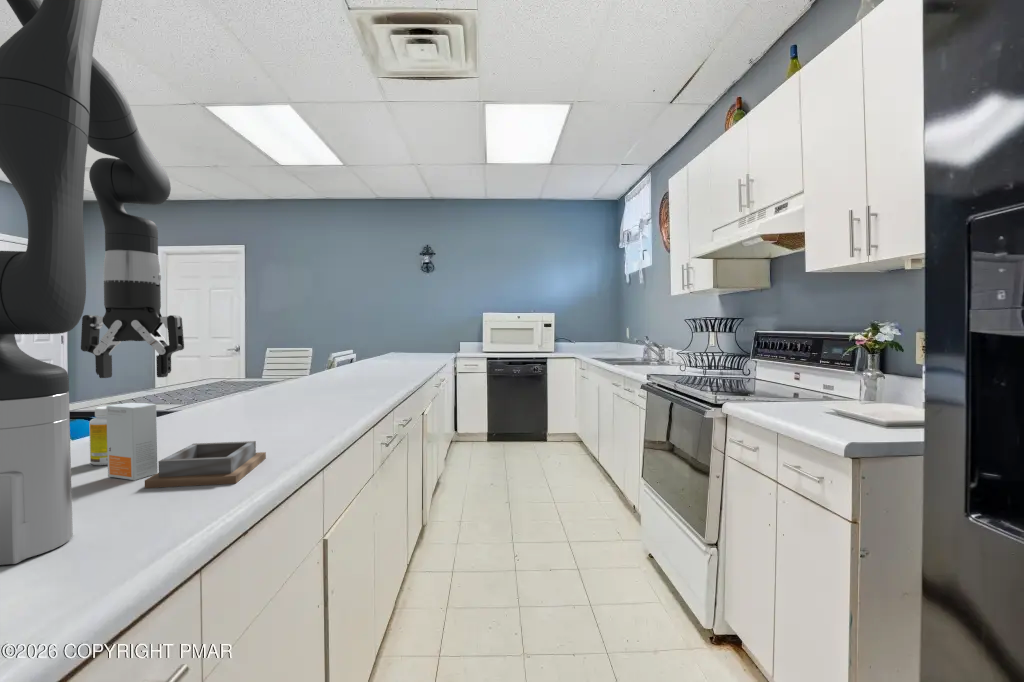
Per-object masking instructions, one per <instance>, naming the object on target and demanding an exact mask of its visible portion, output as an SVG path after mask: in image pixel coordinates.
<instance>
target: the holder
mask: <svg viewBox="0 0 1024 682" xmlns="http://www.w3.org/2000/svg"><path fill="white" fill-rule="evenodd" d="M256 442H257V441H256V440H252V441H251V440H249V441H248V440H247V441H228V442H227V441H226V442H204V443H203V442H201V443H200V442H198V443H197V442H196V443H192V444H190V445H188V446H186V447H184V448H182V449H180V450H178V451H176V452H175V453H172V454H169V455H168V456H166V457H164V458H162V459H161V460H159V461H158V460H157V464H158V473H157V474H154V475H151V476H149V477H148V478H147V479H145V480H144V489H153V488H154V489H155V488H157V489H158V488H174V487H175V488H176V487H191V486H210V485H211V486H212V485H231V484H232V485H233V484H237V483H238V482H239V481H240V480H241V479H243V478H244V477H245V476H247V475H248V474H249V473H250V472H252V471H253V470H254V469H255V468H256V467H258V466H259V465H260V464H261V463H262V462H263V461H265V460H267V452H266V451H265V452H263V451H262V452H261V451H260V452H257V444H256Z"/></svg>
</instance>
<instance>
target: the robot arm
mask: <svg viewBox="0 0 1024 682" xmlns="http://www.w3.org/2000/svg"><path fill="white" fill-rule="evenodd" d="M6 2H7V3H8V5H9V7H10V8H11V10H12V11H13V12H14V13H13V14H14V15H15V16H16V18H17V20H18V22H20V24H21V26H22V27H21V28H20V29H19V30H17V31H16V32H15V33H14V34H12V35H11V36H10V37H9V38H8V39H7V40H6V41H4V43H3V44H2V45H0V170H1V172H3V174H4V175H5V177H6V178H7V179H8V181H9V182H10V184H11V185H12V186H13V187H14V189H15V191H16V192H17V194H18V195H19V198H20V199H21V201H22V203H23V205H24V206H23V207H24V210H25V213H26V214H25V215H26V218H27V219H26V220H27V221H26V222H27V236H28V237H27V247H26V250H25V251H22V250H0V566H4V565H14V564H18V563H20V562H22V561H25V560H26V559H29V558H31V557H36V556H37V555H41V554H44V553H47V552H49V551H53V550H55V549H56V548H58V547H61V546H62V545H65V544H66V543H68V542H69V541H70V540H71V539H72V538H73V535H74V533H73V532H74V531H73V528H74V527H73V501H72V500H73V497H72V496H73V495H72V494H73V491H72V459H71V457H72V456H71V431H70V430H71V426H70V424H71V423H70V422H71V421H70V392H69V390H70V384H69V383H70V381H69V380H70V379H69V373H68V371H67V370H66V369H65V368H64V367H62V366H60V365H56V364H53V363H49V362H46V361H43V360H40V359H37V358H35V357H33V356H32V355H29V354H27V353H26V352H24V350H22V349H21V348H20V347H19V346H18V344H17V340H16V335H58V334H59V335H60V334H65V333H68V332H70V331H73V330H74V328H75V327H76V326H77V325H78V324H79V322H80V320H81V337H80V350H81V351H82V352H88V353H91V354H93V355H94V357H95V373H96V375H97V376H99V377H98V378H99V379H109V378H112V376H113V356H112V354H111V353H112V352H113V350H114V349H115V348H116V347H117V346H119V345H120V344H121V343H122V342H133V341H134V342H146V343H147V344H148V345H149V346H151V347H152V348H153V349H154V350H155V352H157V353H158V355H156V359H155V360H156V361H155V363H156V377H157V378H167V377H168V375H169V374H171V372H172V355H173V354H174V353H176V352H179V351H183V350H184V349H185V338H184V329H183V327H184V325H183V318H182V317H181V316H180V315H174V314H173V315H168V316H162V314H161V308H162V301H161V299H162V298H161V297H162V296H161V293H162V292H161V281H162V275H161V266H160V259H159V231H158V226H157V224H156V223H155V222H154V221H152V220H150V219H148V218H145V217H142V216H137V215H132V214H129V213H128V212H127V211H126V209H125V204H132V205H133V204H138V205H153V206H155V205H161V204H163V203H165V202H166V201H167V200H168V199H169V197H170V194H171V190H172V189H171V188H172V187H171V181H170V178H169V176H168V174H167V171H166V170H165V168H164V166H163V165H162V163H161V162H160V161H159V159H158V158H157V157H156V156H155V154H154V153H153V151H152V150H151V148H150V147H149V145H148V144H147V142H146V141H145V140H144V138H143V137H142V135H141V133H140V131H139V128H138V126H137V123H136V120H135V117H134V114H133V112H132V109H131V106H130V103H129V101H128V99H127V97H126V94H125V93H124V91H123V89H122V88H121V86H120V85H119V84H118V82H117V81H116V79H115V78H114V77H113V76H112V75H111V74H110V72H109V71H108V70H107V69H106V68H105V67H104V66H103V65H102V64H101V63H100V62H99V61H98V60H97V59H96V58H95V57H94V56H93V55H94V47H95V40H96V35H97V30H98V25H99V19H100V14H101V10H102V4H103V0H6ZM88 146H89V147H90V149H93V150H94V151H96V152H98V153H100V154H104V155H108V156H111V157H101V158H99V159H96V160H95V161H94V162H93V163H92V164H91V167H90V168H89V172H88V173H89V174H88V175H89V182H90V185H91V188H92V191H93V194H94V197H95V199H96V202H97V205H98V208H99V210H100V214H101V218H102V221H103V225H104V250H105V253H104V260H103V306H104V308H105V313H104V315H103V316H99V315H93V314H85V315H83V314H84V310H85V304H86V297H87V275H86V274H87V273H86V271H87V269H86V253H85V249H86V248H85V232H84V194H85V193H84V192H85V191H84V190H85V189H84V188H85V177H86V176H85V175H86V164H87V163H86V161H87V153H88V151H87V150H88ZM162 325H164V327H165V328H166V329H167V334H168V335H167V337H168V342H167V341H166V338H165V337H164V335H162V333H161V332H160V331H159V329H160V328H161V327H162ZM103 326H105V327H106V328H107V330H106V332H105V334H103V336H102V337H101V338H100V331H101V330H100V329H102V328H103Z"/></svg>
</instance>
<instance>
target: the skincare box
mask: <svg viewBox="0 0 1024 682" xmlns="http://www.w3.org/2000/svg"><path fill="white" fill-rule="evenodd" d="M106 406H107V407H106V409H107V458H108V465H107V477H108V478H116V479H117V478H118V479H124V480H130V481H137V480H140V479H143V478H146V477H152V476H154V475H155V474H157V473H159V465H158V436H157V435H158V432H157V431H158V429H157V428H158V427H157V426H158V425H157V424H158V423H157V404H156V403H146V402H124V403H117V404H111V405H106Z"/></svg>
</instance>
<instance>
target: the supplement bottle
mask: <svg viewBox="0 0 1024 682" xmlns="http://www.w3.org/2000/svg"><path fill="white" fill-rule="evenodd" d="M107 406H108V405H103V406H98V407H95V408H94V418H92V419H90V420H89V424H88V425H89V427H88V428H89V460H90V464H91V465H94V466H108V458H107V409H106V407H107Z"/></svg>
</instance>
